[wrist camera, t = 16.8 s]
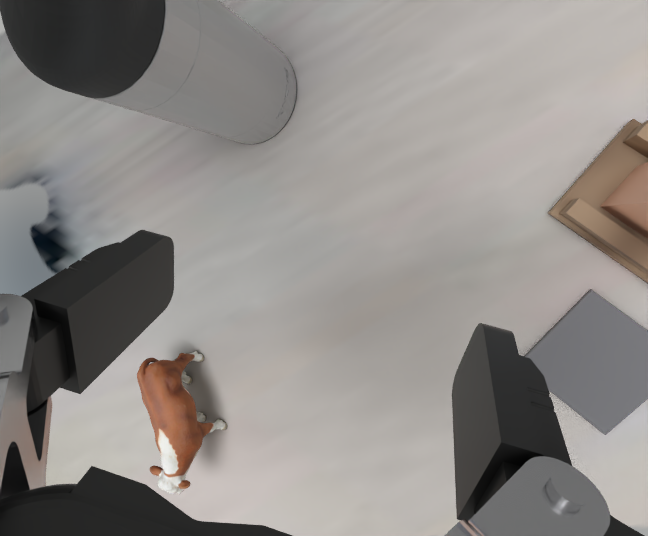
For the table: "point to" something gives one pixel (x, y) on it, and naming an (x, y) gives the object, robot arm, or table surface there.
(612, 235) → the slotted rack
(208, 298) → the table surface
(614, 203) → the tall salmon pink block
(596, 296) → the rubber mat
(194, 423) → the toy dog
